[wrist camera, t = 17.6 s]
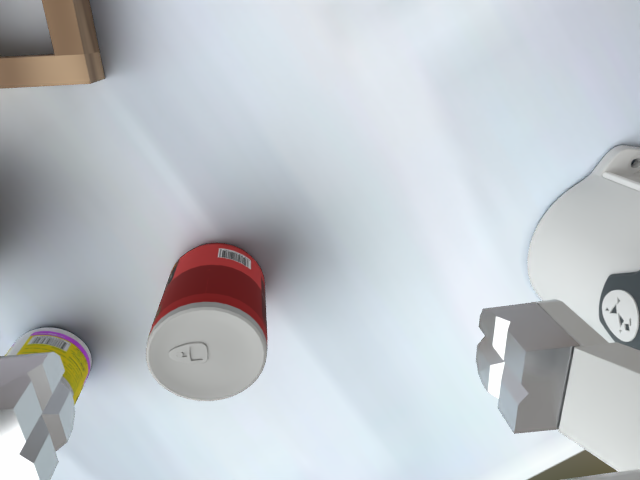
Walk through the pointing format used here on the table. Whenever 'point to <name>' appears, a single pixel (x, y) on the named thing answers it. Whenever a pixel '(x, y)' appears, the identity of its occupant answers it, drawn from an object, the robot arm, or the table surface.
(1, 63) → the bore block
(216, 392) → the canned food
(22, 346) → the supplement bottle
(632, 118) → the table surface
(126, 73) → the table surface
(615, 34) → the table surface
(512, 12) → the table surface
